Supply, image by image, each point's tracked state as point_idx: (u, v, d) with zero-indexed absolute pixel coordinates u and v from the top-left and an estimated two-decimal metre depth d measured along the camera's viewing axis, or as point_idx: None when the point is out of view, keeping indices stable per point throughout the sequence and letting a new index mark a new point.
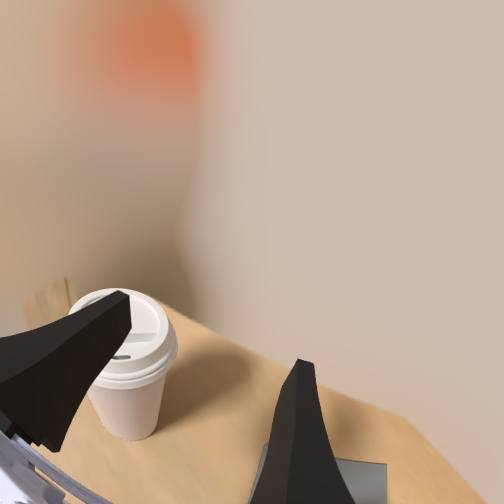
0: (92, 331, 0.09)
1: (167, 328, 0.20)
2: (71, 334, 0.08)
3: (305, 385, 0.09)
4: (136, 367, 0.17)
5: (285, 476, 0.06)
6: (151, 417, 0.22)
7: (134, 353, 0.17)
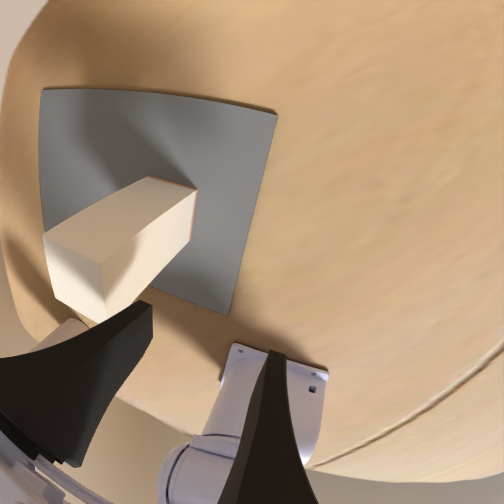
0: (116, 344, 0.09)
1: None
2: (95, 349, 0.08)
3: (274, 376, 0.09)
4: None
5: (244, 466, 0.06)
6: None
7: None
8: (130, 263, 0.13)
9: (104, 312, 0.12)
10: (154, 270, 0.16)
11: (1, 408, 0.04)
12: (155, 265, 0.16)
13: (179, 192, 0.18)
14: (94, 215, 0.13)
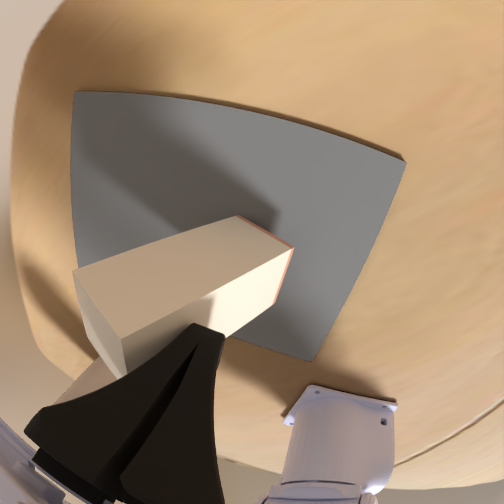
0: (179, 374, 0.09)
1: None
2: (160, 383, 0.08)
3: (205, 352, 0.09)
4: None
5: None
6: None
7: None
8: (174, 336, 0.10)
9: None
10: None
11: (74, 469, 0.04)
12: None
13: (269, 247, 0.15)
14: (146, 259, 0.12)
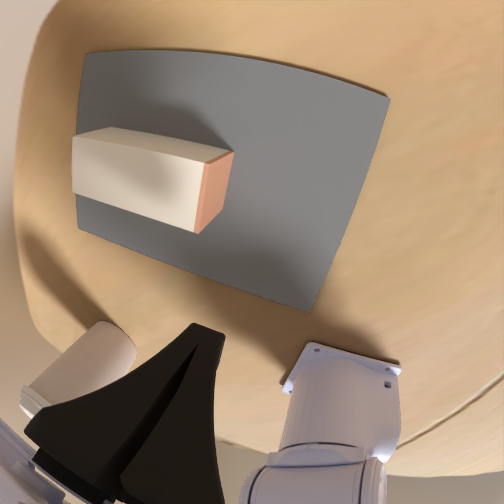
0: (179, 374, 0.09)
1: (25, 408, 0.17)
2: (160, 382, 0.08)
3: (205, 352, 0.09)
4: None
5: None
6: (96, 354, 0.26)
7: None
8: (94, 160, 0.15)
9: None
10: (123, 200, 0.16)
11: (74, 470, 0.04)
12: (124, 196, 0.16)
13: (191, 156, 0.15)
14: (133, 133, 0.17)
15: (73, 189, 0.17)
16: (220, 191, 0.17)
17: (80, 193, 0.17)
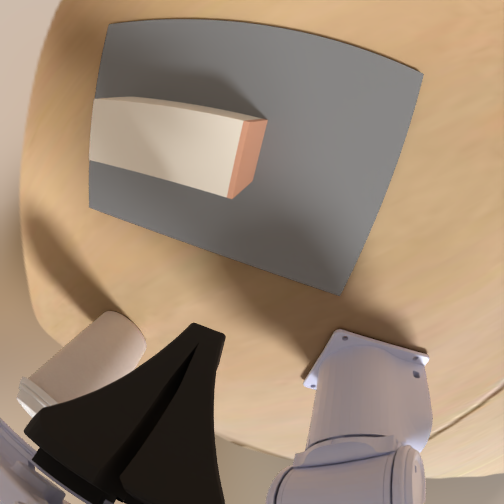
0: (179, 374, 0.09)
1: (23, 402, 0.16)
2: (160, 382, 0.08)
3: (205, 352, 0.09)
4: None
5: None
6: (102, 345, 0.24)
7: None
8: (116, 123, 0.14)
9: None
10: (147, 165, 0.15)
11: (74, 469, 0.04)
12: (149, 160, 0.15)
13: (228, 115, 0.13)
14: (159, 100, 0.16)
15: (90, 156, 0.16)
16: (253, 159, 0.16)
17: (98, 160, 0.16)
